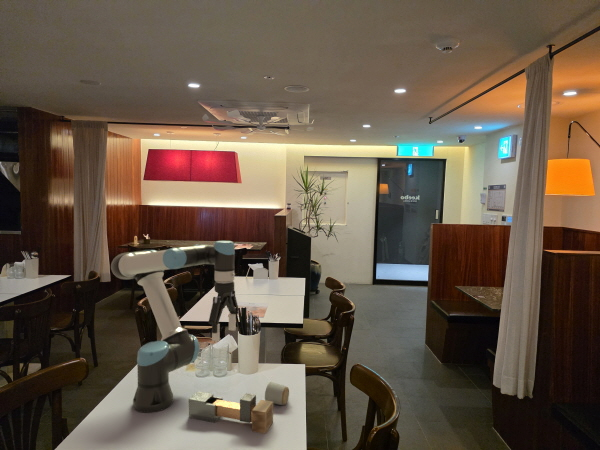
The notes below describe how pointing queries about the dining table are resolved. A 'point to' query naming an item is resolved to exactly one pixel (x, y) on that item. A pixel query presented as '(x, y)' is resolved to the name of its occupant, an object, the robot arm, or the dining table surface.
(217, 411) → the tan wooden post
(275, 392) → the ceramic mug
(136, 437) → the dining table surface
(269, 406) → the socket
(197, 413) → the sleeve
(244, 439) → the dining table surface
